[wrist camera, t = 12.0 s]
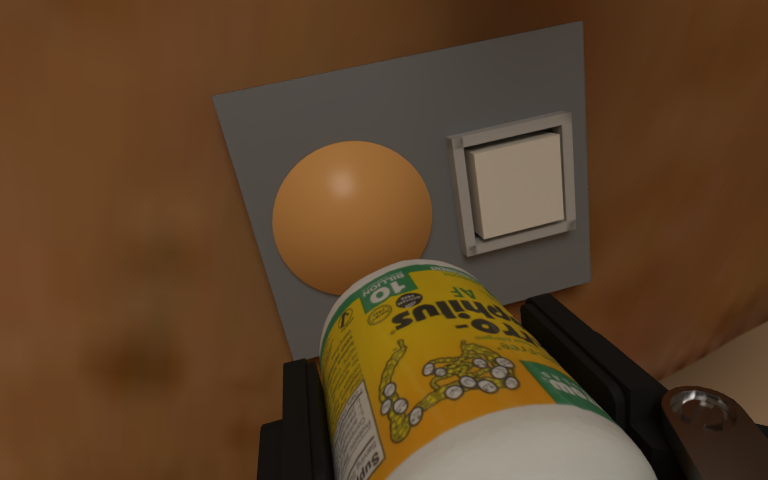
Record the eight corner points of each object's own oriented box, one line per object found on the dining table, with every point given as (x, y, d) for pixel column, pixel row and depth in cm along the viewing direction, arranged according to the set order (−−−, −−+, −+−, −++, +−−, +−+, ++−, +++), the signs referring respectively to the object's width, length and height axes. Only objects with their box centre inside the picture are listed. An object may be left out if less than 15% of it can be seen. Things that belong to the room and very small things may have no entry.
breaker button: (534, 129, 28) (559, 134, 26) (539, 206, 30) (563, 219, 27) (456, 147, 28) (473, 154, 25) (466, 225, 29) (484, 239, 27)
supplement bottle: (299, 402, 14) (323, 985, 5) (344, 235, 12) (489, 632, 4) (462, 420, 15) (706, 896, 6) (519, 271, 14) (933, 620, 5)
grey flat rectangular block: (562, 24, 27) (594, 18, 24) (573, 269, 33) (600, 287, 30) (217, 94, 25) (208, 97, 22) (293, 345, 31) (294, 372, 28)
